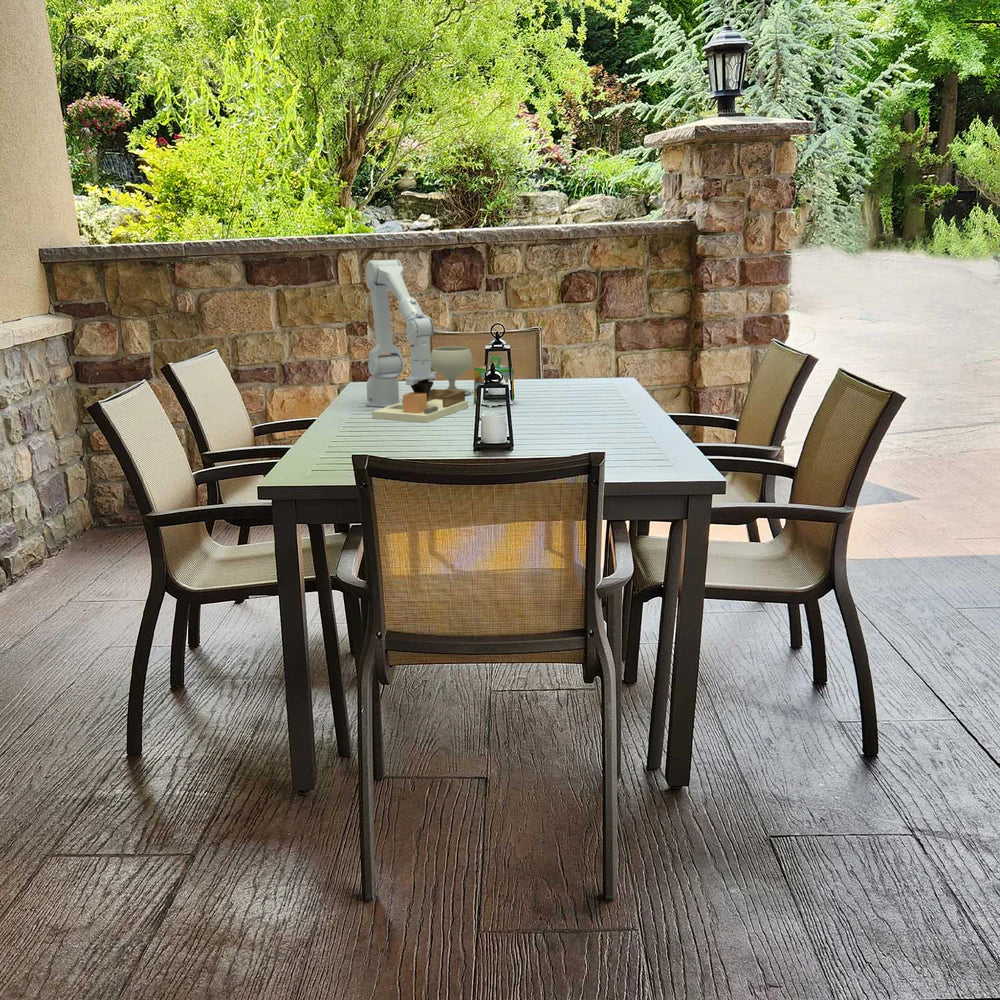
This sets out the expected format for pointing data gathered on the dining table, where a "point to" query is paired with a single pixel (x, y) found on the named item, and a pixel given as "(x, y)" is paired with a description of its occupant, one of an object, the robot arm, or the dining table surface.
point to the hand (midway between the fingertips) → (422, 406)
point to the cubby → (447, 396)
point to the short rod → (430, 410)
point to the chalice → (452, 363)
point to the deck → (397, 413)
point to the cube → (414, 402)
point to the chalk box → (480, 372)
